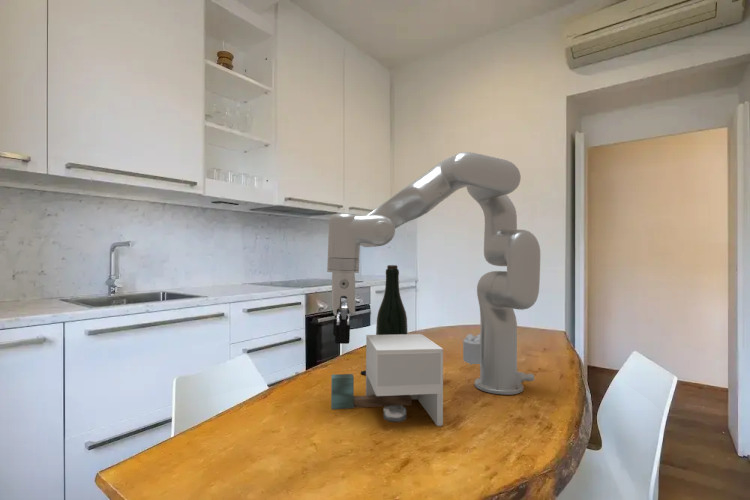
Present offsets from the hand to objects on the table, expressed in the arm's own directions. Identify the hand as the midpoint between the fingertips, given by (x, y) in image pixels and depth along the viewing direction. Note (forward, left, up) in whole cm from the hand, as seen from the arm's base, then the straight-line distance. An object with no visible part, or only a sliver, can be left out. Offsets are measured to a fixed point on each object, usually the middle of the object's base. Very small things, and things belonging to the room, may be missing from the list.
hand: (340, 339), depth 91 cm
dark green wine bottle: (-19, -33, -16) cm, 41 cm away
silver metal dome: (-12, +8, -16) cm, 21 cm away
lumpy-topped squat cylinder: (-51, -38, -16) cm, 65 cm away
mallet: (-7, 0, -16) cm, 17 cm away
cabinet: (-14, +5, -16) cm, 21 cm away
